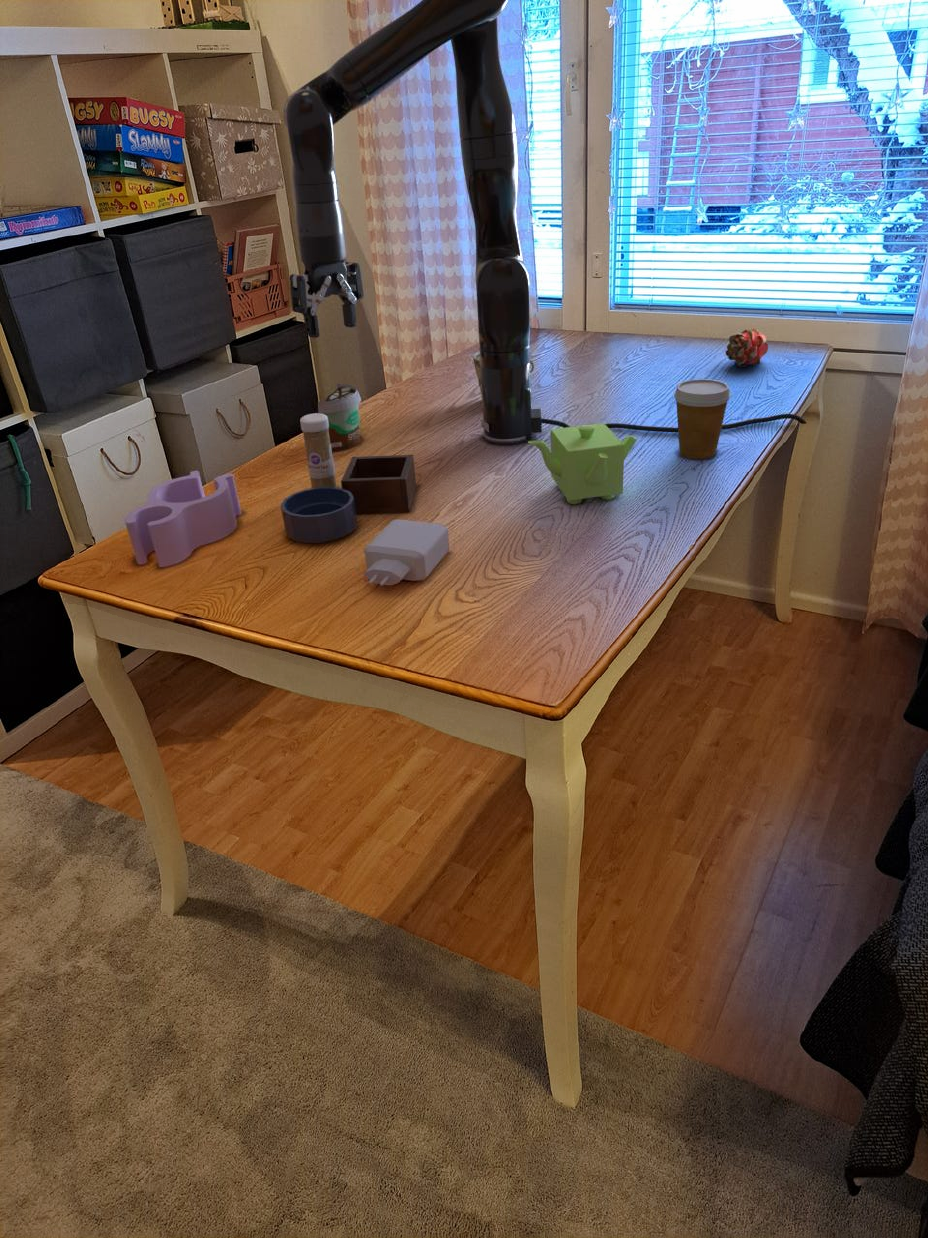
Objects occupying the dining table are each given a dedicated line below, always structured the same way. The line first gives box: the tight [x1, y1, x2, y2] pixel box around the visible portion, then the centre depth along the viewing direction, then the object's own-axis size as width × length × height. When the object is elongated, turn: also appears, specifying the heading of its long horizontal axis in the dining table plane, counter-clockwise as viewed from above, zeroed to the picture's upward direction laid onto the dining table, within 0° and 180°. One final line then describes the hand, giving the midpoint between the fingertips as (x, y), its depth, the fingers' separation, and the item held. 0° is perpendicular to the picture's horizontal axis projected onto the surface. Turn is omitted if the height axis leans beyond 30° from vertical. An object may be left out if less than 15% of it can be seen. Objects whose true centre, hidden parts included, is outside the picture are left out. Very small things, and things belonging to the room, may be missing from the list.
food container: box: [317, 383, 362, 452], centre depth 170 cm, size 12×6×10 cm, turn 168°
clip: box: [124, 470, 242, 568], centre depth 139 cm, size 20×12×7 cm, turn 161°
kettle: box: [527, 422, 638, 505], centre depth 142 cm, size 15×14×11 cm
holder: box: [340, 454, 417, 515], centre depth 146 cm, size 10×10×6 cm
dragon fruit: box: [725, 328, 769, 368], centre depth 198 cm, size 8×8×12 cm
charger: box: [363, 518, 450, 587], centre depth 124 cm, size 5×9×15 cm
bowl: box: [280, 486, 358, 544], centre depth 138 cm, size 11×11×5 cm
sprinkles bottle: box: [299, 412, 339, 488], centre depth 149 cm, size 5×5×14 cm
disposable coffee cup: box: [673, 378, 732, 460], centre depth 153 cm, size 10×10×12 cm
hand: (332, 331), depth 153 cm, fingers open, 8 cm apart
